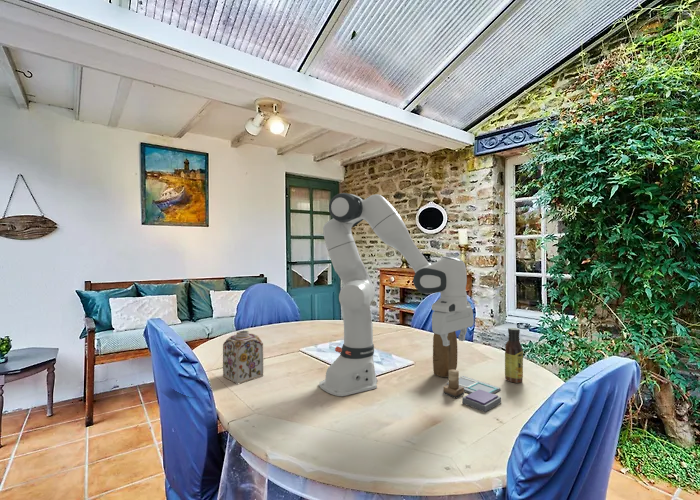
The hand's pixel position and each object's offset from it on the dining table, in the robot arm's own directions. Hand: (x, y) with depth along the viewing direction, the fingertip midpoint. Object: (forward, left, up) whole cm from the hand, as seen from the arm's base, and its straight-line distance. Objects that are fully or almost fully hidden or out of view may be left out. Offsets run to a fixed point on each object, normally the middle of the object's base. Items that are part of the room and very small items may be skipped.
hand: (454, 343), depth 120 cm
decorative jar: (-50, +63, -18) cm, 83 cm away
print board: (+10, -1, -18) cm, 20 cm away
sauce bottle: (+28, -8, -18) cm, 34 cm away
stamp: (0, 0, -18) cm, 18 cm away
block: (+14, +13, -18) cm, 26 cm away
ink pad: (+1, -10, -18) cm, 20 cm away
